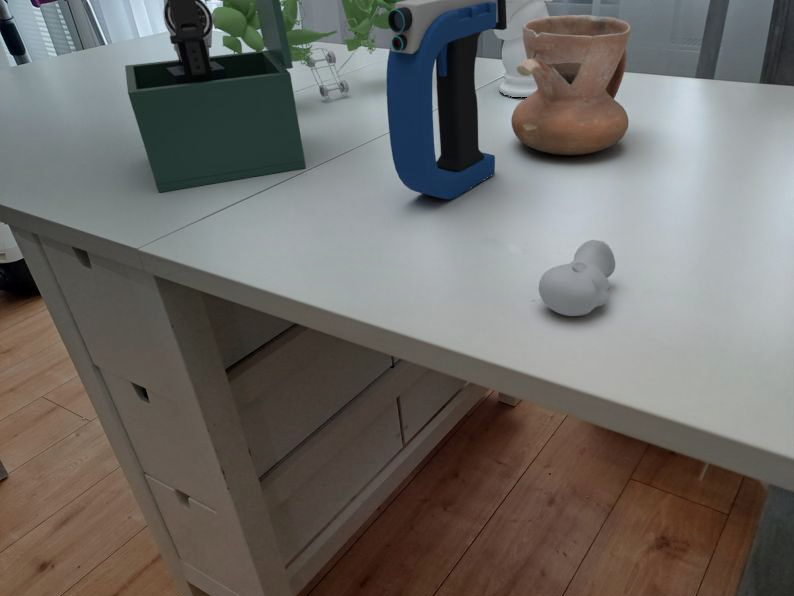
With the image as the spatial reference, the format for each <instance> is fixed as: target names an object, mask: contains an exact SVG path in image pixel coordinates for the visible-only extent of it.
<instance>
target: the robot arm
mask: <svg viewBox="0 0 794 596" xmlns="http://www.w3.org/2000/svg"><path fill="white" fill-rule="evenodd" d="M168 4H169V7H170V11H171V15H172V19H173V22H174V26H175V32H176V34H175V36H171V35H169V40H170V43H171V45H174V44H176V43H177V45H178V48H179V52H180V56H181V60H182V61H181V60H180V59H179V58H178V57H177V60H179V62H180V66H183V68H184V72H185V76H186V80H187V84H188V83H196V82H205V81H213V76H212V72H211V68H210V63H209V59H208V55H207V51H206V46H205V42H204V39H203V37H204V29H203V28H202V26H201V22H200V18H199V14H198V10H197V6H196V2H195V0H168ZM182 25H187V26H182Z"/></svg>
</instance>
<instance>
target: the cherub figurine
mask: <svg viewBox="0 0 794 596" xmlns="http://www.w3.org/2000/svg"><path fill="white" fill-rule="evenodd" d="M553 1H554V0H506V20H507V28H506V29H505V30H496V29H493V33H494V36H495V37H496V38H497V39H499V40H504V41H503V44H502V48H501V62H502V65H503V68H504V70H505V73H504V74H503V79H504V81H505V82H502V83H501V84H500V85H499V86H498V91H499V90H500V92H501V93H500V92H499V93H500V94H502V93H503V94H506V95H509V96H508V97H510V96H513V97H521V98H522V97H529V96H530V95H531V94H532V93H534V92H535V91H536V90H537V84H536V82H535V80H534V77H533V74H531V75H529V76H522V75H520V73H518V71H517V67H518V65H519V64H521V63H522V62H523V61H525V60H527V56H526V51H525V47H524V41H523V25H524V24H525V23H526V22H529V21H531V20H534V19H538V18H544V17H545V18H546V17H550V16H551V15H549V11H548V9H547V5H546V3H545V2H547V3H550V2H553ZM503 94H502V95H503Z"/></svg>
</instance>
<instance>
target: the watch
mask: <svg viewBox="0 0 794 596" xmlns="http://www.w3.org/2000/svg"><path fill="white" fill-rule="evenodd" d="M195 2H196V6H197V10H198V14H199V18H200V22H201V26H202V28H203V29H204V37H203V39H204V42H205V46H206V51H207V55H208V59H209V63H210V68H211V72H212V76H213V80H222V79H227V75H226V71H225V68H224V67H222V66H221V65H219V64H218V63H216V62H215V61H213V62H210V56H211V55H210V48H212V43H213V28H214V24H213V22H214V21H216V17H215V14H214V13H213V12H211V10H210V8H209V7H208V5H207V4H206V3H205V2H204V1H203V0H195ZM162 12H163V13H162V14H163V21H164V25H165V28H166V29H167V31H168V32H169V36H175V34H176V32H175V26H174V22H173V19H172V15H171V11H170V7H169V4H168V0H163V11H162ZM212 13H213V14H212ZM182 26H187V25H182ZM173 50H174V51H175V53H176V55H177V59H178V58H179V59H180V60H181V56H180V52H179V48H178V45H177V43H176V44H173ZM179 59H178V60H179ZM181 61H182V60H181ZM166 69H167V73H168V77H169V81H170V84H171V85H179V84H187V80H186V76H185V72H184V68H183V66H178V67H170V68H166Z"/></svg>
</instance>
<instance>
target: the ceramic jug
mask: <svg viewBox="0 0 794 596" xmlns="http://www.w3.org/2000/svg"><path fill="white" fill-rule="evenodd" d="M549 16H550V17H546V18H545V17H544V18H538V19H534V20H531V21H529V22H526V23H525V24H524V25H523V41H524V47H525V51H526V56H527V60H525V61H523V62H522V63H521V64H519V65H518V67H517V71H518V73H520V75H522V76H529V75H531V74H533V77H534V80H535V82H536V84H537V90H536V91H535V92H534V93H532V94H531V95H530V96H529V97H527V98H523V99H522V101H520V102H519V103H518V104H517V106H515V108H514V110H513V112H512V115H511V119H510V120H511V128H512V132H513V133H514V135H515V136H516V139H518V141H520V142H522V144H524V145H526V146H527V147H529V148H531V149H534V150H536V151H539V152H542V153H546V154H551V155H559V156H579V155H587V154H592V153H597V152H600V151H603V150H606V149H607V148H608V149H609V148H610V147H612V146H613V145H615V144H616V143H618V142H619V141H621V140H622V138H623V137H624V136H625V134H626V133H627V130H628V128H629V122H630V121H629V117H628V114H627V111H626V109H625V108H624V107H623V105H621V104H620V103H619V102H618V101H617V100H616V99H615V98H616V96H617V94H618V92H619V89H620V87H621V83H622V81H623V78H624V74H625V71H626V67H627V60H628V59H627V55H628V54H627V49H626V47H627V45H628V44H627V43H628V40H629V37H630V33H631V26H630V24H629V22H627V21H626V20H625V21H624V20H623V19H618V18H617V17H613V16H606V15H601V16H600V15H599V16H597V15H596V16H595V15H591V14H578V15H575V14H569V15H568V14H567V15H549Z"/></svg>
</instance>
